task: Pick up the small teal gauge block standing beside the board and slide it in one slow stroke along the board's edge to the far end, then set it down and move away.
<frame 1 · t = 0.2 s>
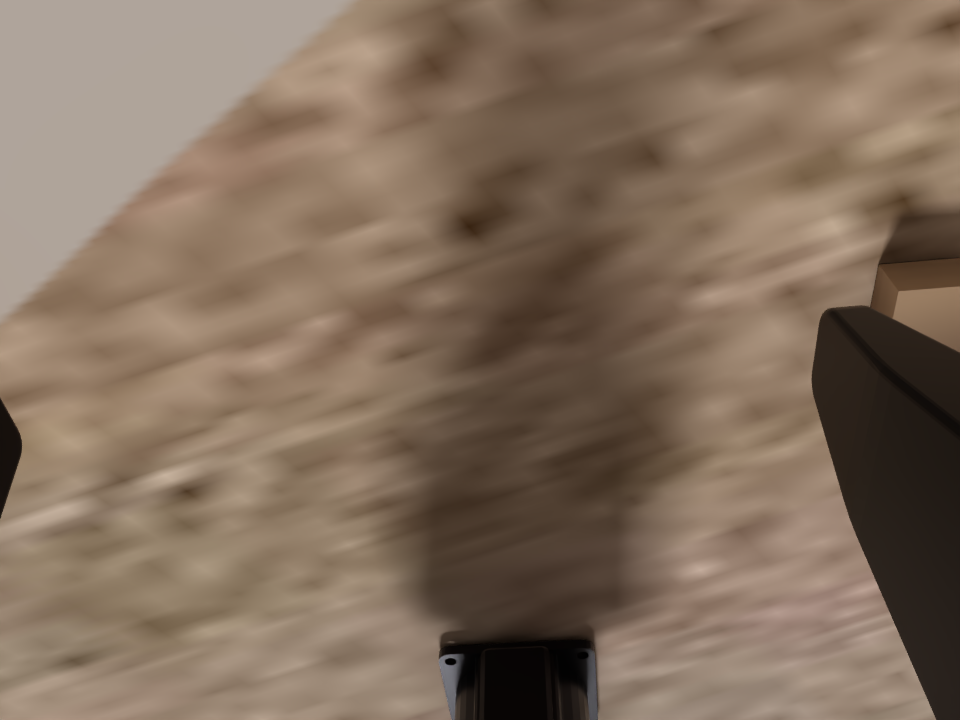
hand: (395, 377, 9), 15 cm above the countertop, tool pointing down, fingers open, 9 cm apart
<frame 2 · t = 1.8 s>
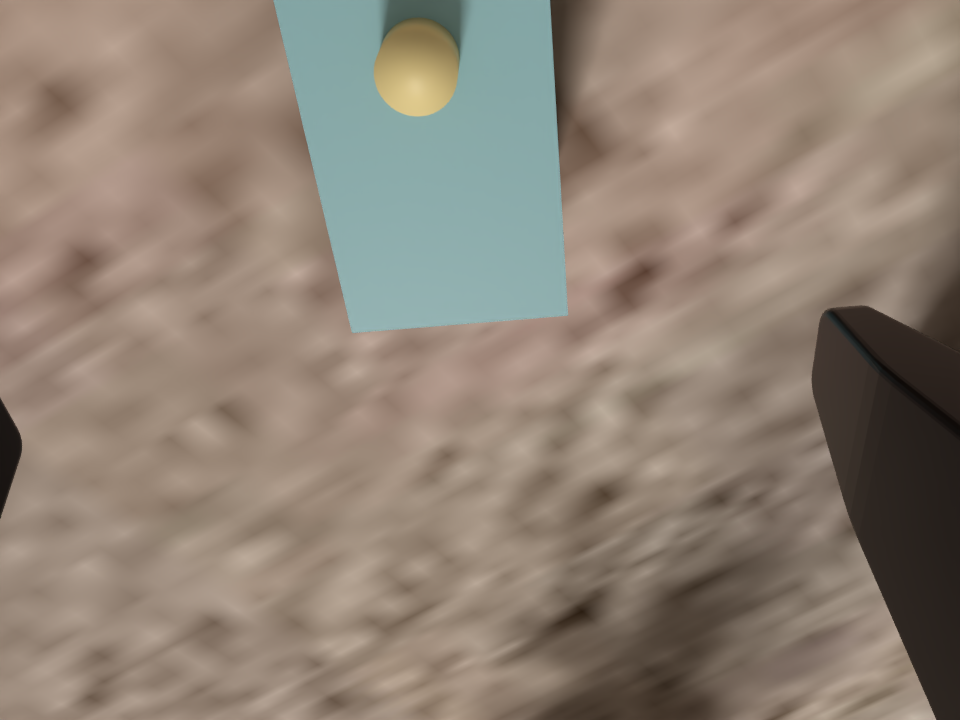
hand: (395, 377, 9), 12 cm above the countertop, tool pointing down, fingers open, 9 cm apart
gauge: (453, 62, 19), on the countertop
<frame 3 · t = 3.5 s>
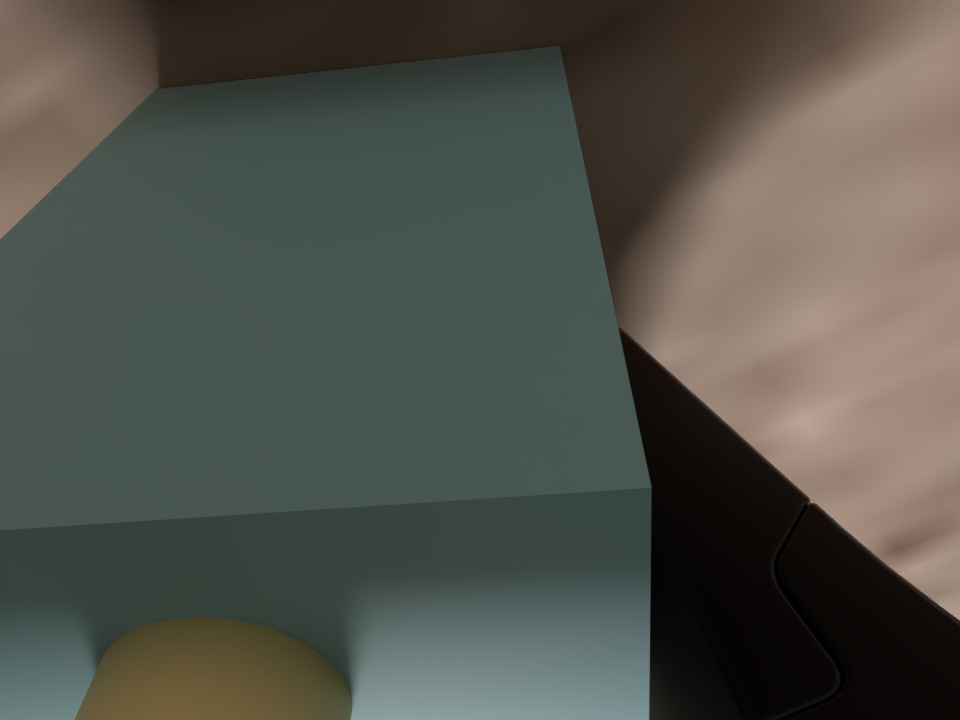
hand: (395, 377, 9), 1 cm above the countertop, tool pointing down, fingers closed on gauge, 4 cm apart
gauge: (404, 324, 10), on the countertop, touching gripper
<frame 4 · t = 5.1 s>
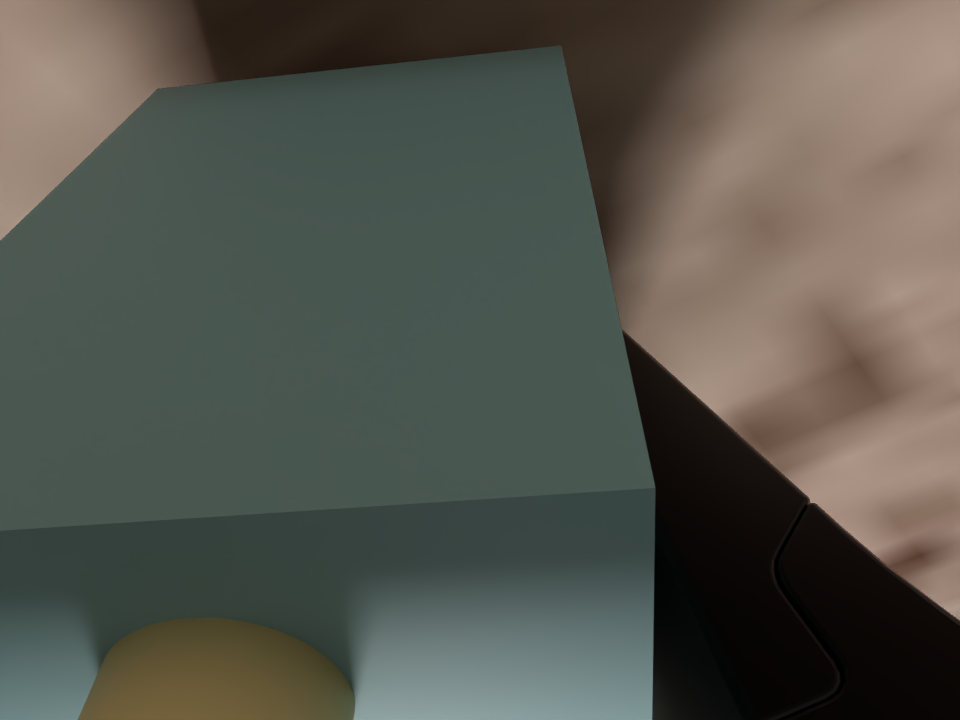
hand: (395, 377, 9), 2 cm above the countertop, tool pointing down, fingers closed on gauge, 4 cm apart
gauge: (405, 324, 10), point 1 cm above the countertop, touching gripper
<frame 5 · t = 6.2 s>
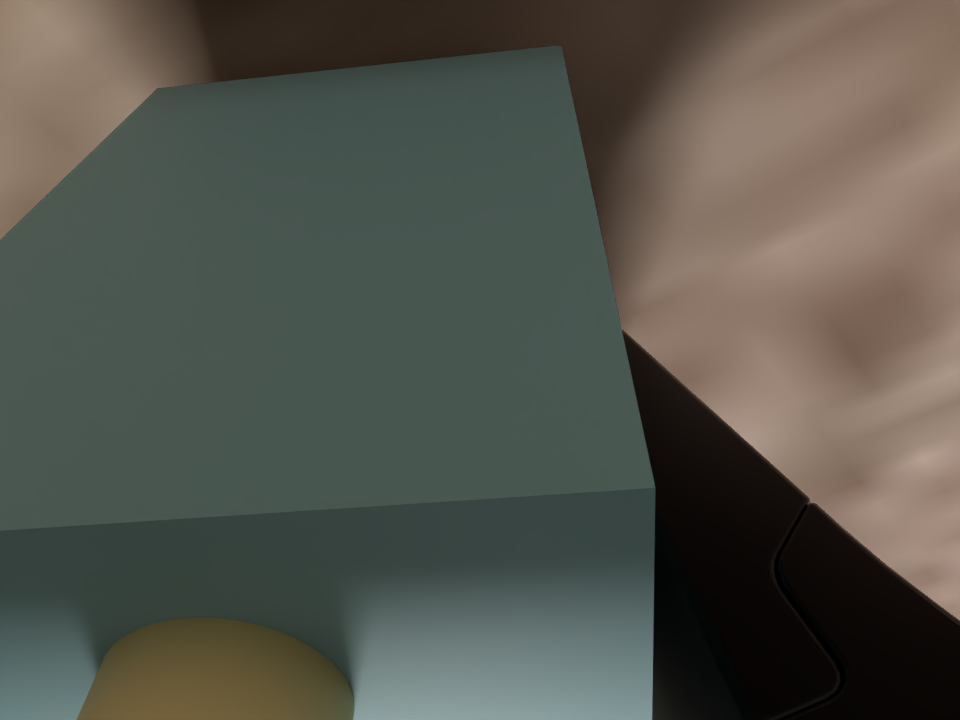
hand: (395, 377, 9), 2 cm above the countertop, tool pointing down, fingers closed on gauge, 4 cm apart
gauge: (405, 324, 10), point 1 cm above the countertop, touching gripper
when the fingers open (2 cm above the countertop, at t = 7.1 s): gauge drops 1 cm, on the countertop.
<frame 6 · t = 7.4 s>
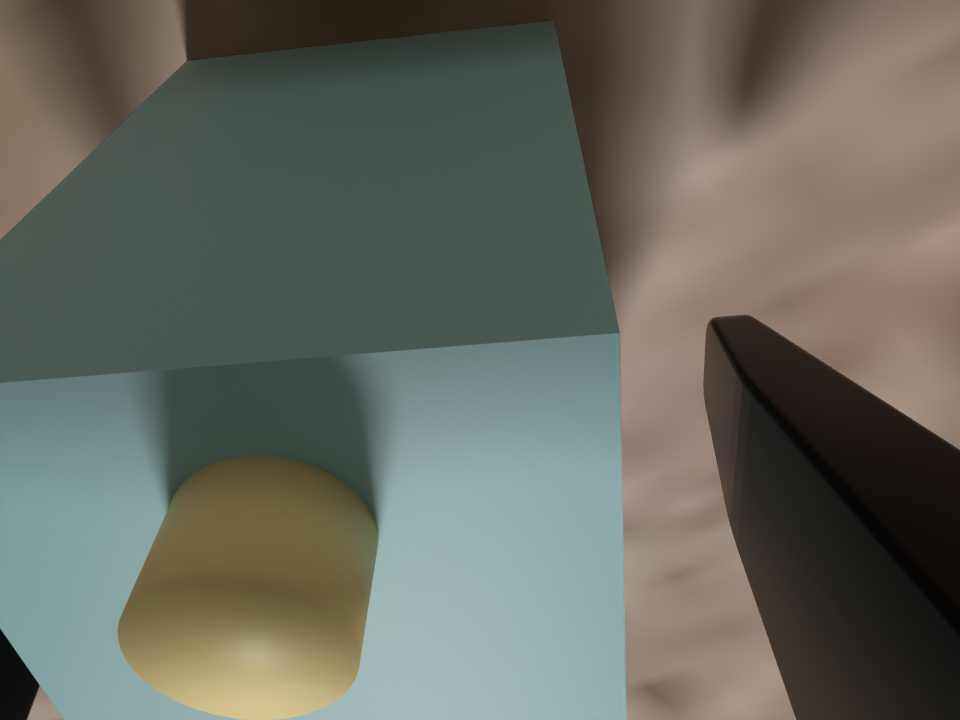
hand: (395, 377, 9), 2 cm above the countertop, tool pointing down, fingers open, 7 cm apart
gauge: (411, 280, 11), on the countertop
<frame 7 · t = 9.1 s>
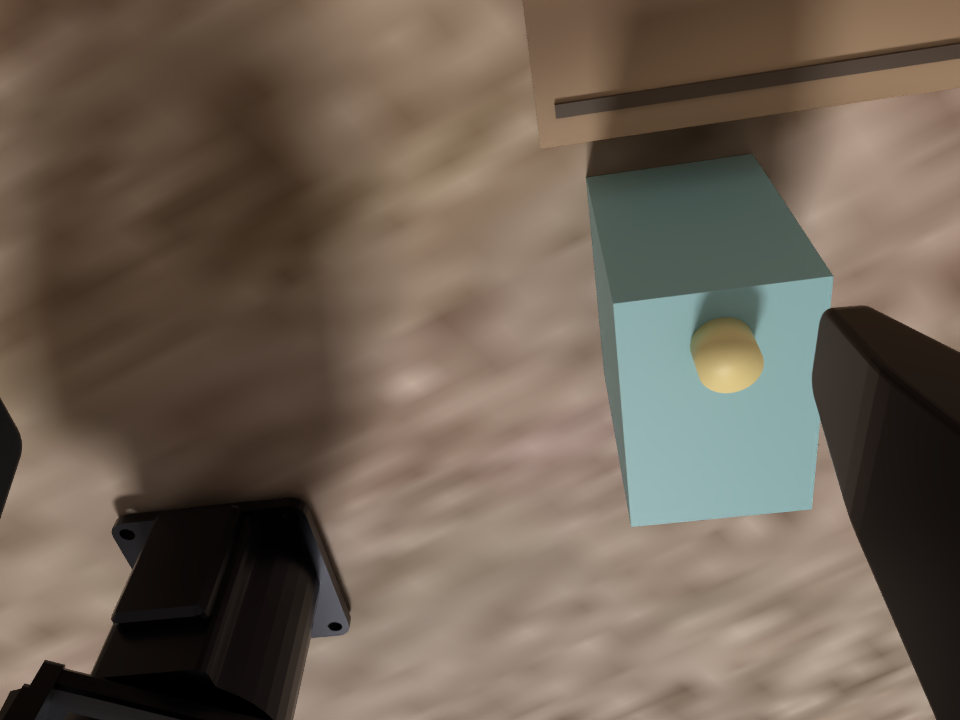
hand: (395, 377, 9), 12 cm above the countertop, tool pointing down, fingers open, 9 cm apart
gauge: (671, 272, 22), on the countertop
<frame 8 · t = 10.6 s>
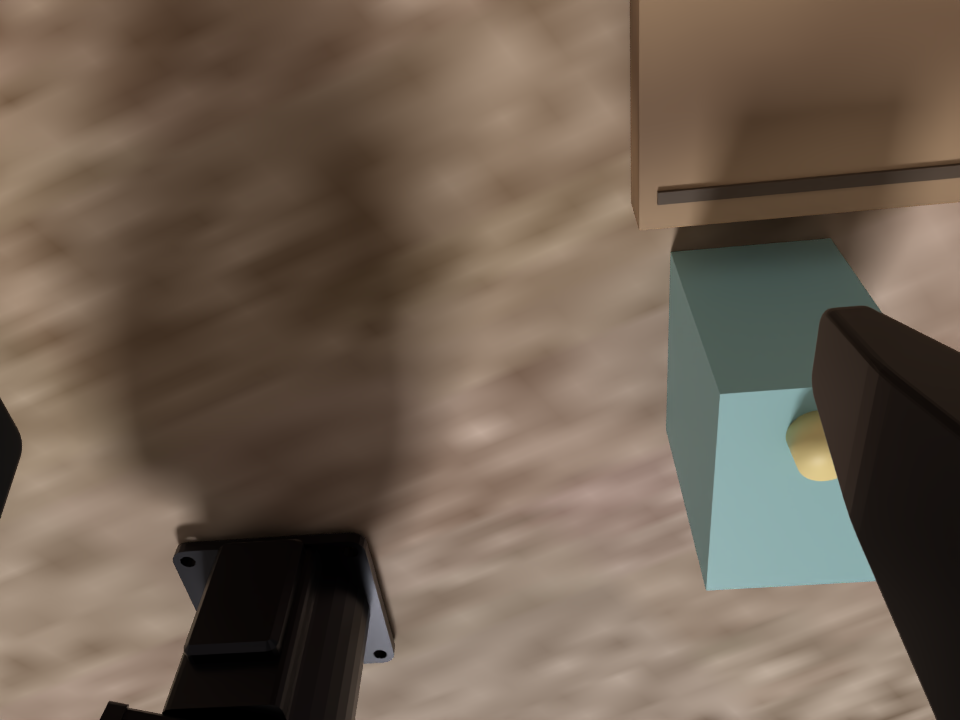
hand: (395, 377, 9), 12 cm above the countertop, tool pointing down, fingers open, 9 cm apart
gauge: (741, 340, 23), on the countertop
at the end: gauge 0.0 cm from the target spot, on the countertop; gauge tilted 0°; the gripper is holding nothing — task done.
